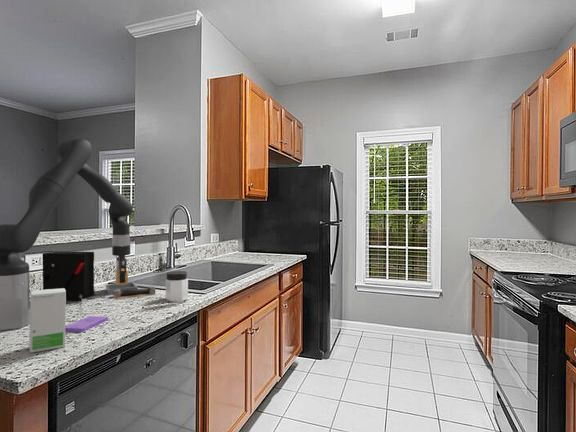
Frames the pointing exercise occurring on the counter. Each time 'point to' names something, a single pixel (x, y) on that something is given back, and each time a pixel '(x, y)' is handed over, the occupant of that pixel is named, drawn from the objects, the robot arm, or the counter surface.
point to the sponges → (85, 324)
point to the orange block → (119, 278)
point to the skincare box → (47, 319)
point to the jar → (177, 287)
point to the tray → (120, 287)
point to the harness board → (134, 292)
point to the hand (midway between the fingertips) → (121, 281)
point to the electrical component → (69, 273)
